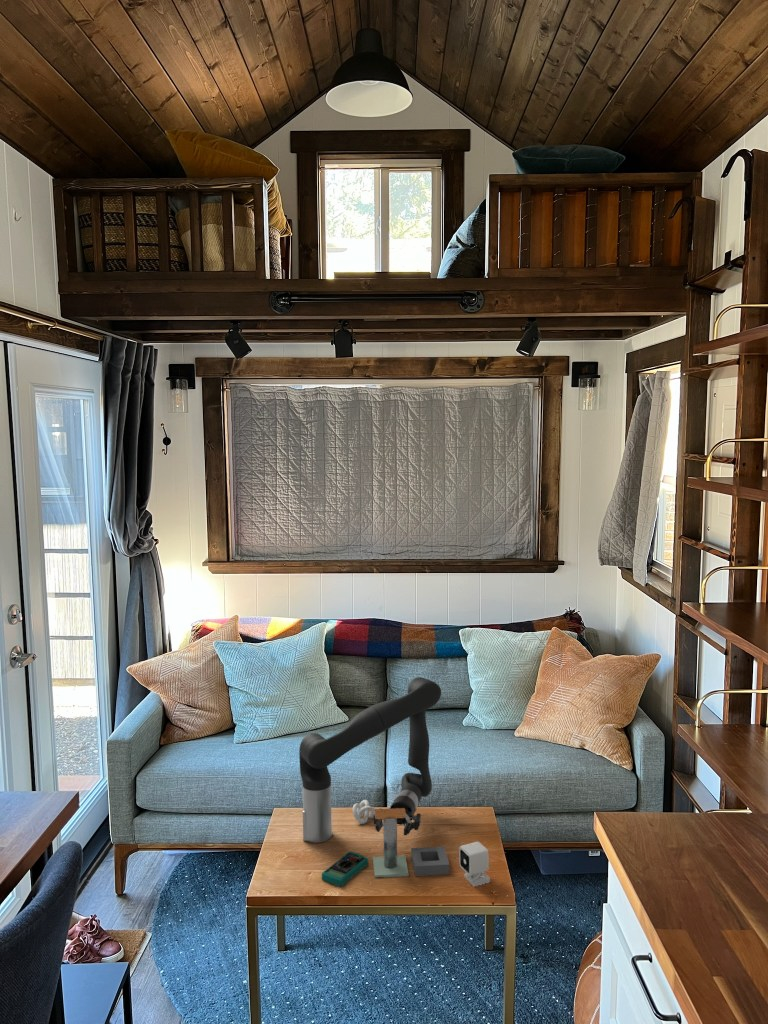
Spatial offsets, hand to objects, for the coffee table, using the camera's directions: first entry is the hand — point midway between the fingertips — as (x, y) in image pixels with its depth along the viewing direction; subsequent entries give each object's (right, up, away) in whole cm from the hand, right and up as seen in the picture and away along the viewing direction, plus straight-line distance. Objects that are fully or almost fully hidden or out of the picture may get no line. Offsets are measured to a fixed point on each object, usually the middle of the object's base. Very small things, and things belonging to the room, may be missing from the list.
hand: (391, 830), depth 226 cm
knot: (-10, -9, +29) cm, 31 cm away
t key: (0, -10, -1) cm, 10 cm away
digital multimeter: (-14, -12, -3) cm, 18 cm away
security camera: (+24, -11, -8) cm, 28 cm away
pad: (0, -11, -1) cm, 11 cm away
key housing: (+12, -11, 0) cm, 16 cm away
